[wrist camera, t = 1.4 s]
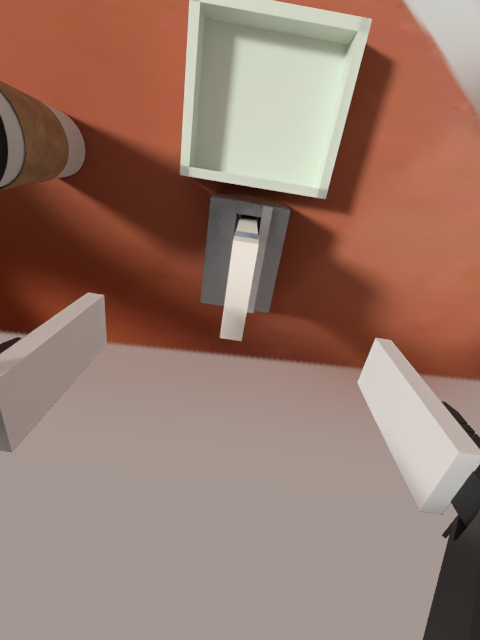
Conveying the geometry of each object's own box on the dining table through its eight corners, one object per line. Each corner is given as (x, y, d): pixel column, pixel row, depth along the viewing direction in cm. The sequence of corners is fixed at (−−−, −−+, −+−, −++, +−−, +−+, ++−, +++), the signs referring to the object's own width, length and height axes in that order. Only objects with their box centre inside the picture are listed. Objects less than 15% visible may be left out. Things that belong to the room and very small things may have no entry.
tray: (187, 174, 31) (179, 174, 27) (198, 8, 25) (190, -16, 22) (318, 196, 31) (325, 199, 28) (357, 38, 25) (372, 19, 22)
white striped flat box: (231, 277, 34) (219, 337, 22) (241, 213, 31) (232, 240, 18) (246, 279, 34) (241, 341, 22) (256, 215, 31) (259, 244, 18)
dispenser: (208, 283, 36) (199, 305, 30) (218, 192, 31) (209, 197, 25) (266, 292, 36) (269, 315, 30) (284, 203, 31) (291, 210, 25)
